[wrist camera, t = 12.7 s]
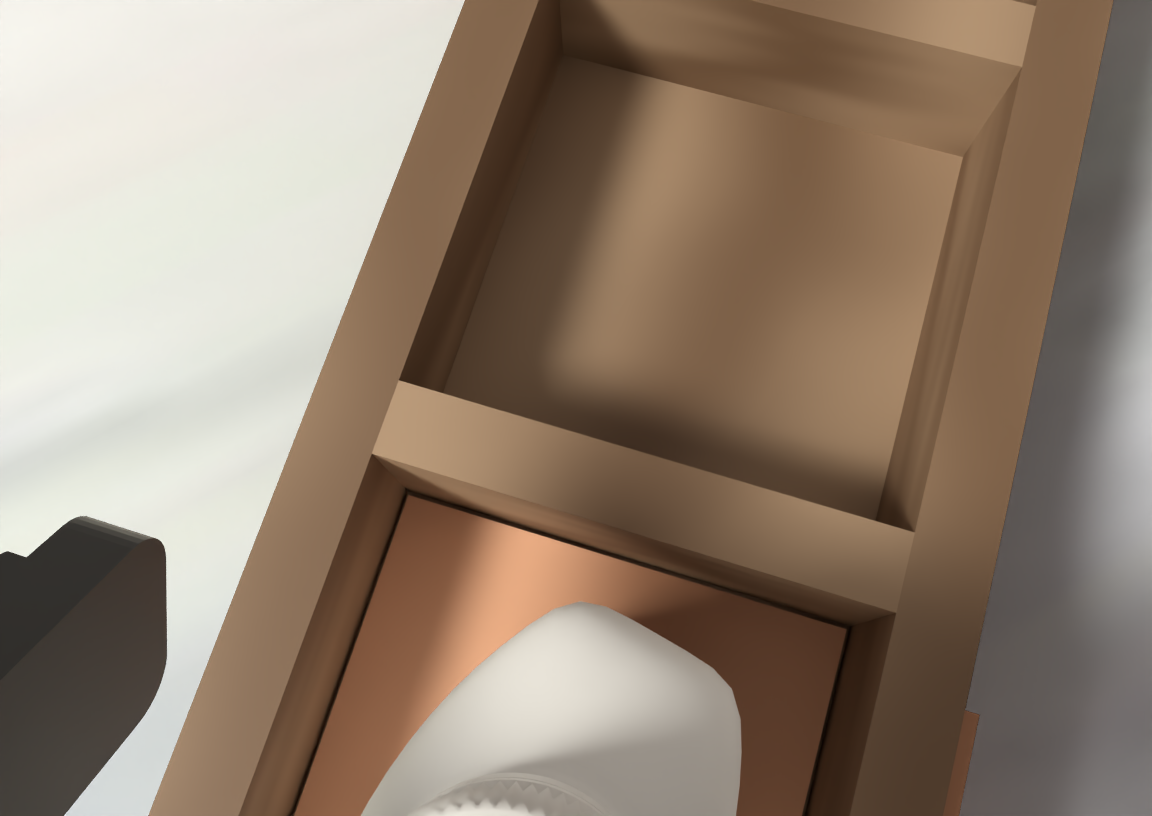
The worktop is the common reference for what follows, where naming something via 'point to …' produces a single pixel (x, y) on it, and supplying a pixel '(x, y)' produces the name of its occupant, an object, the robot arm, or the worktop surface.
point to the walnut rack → (673, 389)
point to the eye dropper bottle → (575, 730)
